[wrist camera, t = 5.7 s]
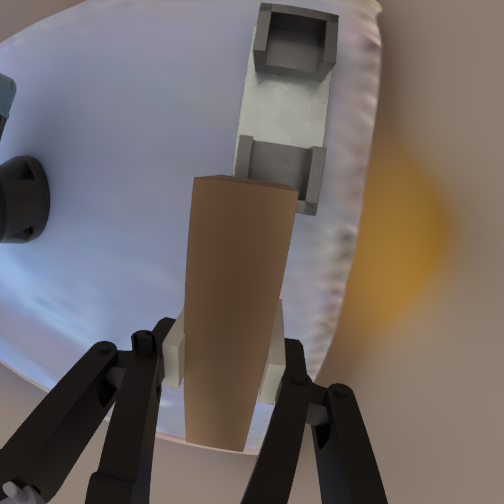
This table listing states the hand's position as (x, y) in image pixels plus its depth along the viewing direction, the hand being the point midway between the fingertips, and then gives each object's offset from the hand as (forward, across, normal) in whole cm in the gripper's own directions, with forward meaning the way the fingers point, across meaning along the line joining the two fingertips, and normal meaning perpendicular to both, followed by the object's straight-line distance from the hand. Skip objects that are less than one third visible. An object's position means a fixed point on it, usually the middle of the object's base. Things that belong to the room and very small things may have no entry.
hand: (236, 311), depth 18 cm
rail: (+1, 0, 0) cm, 1 cm away
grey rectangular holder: (+17, +1, +17) cm, 24 cm away
